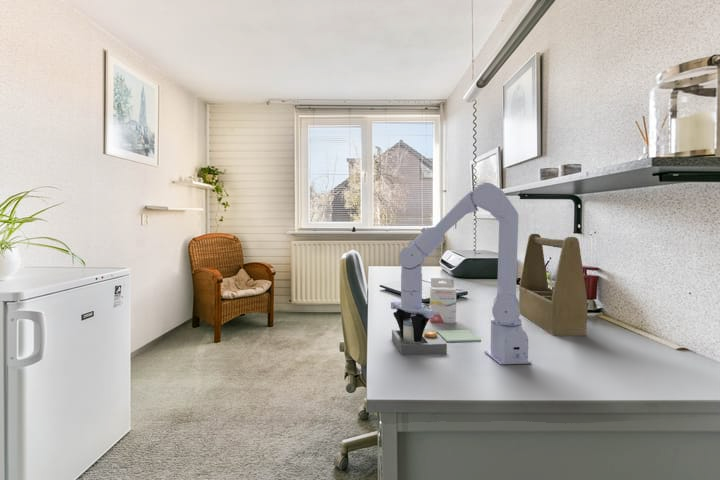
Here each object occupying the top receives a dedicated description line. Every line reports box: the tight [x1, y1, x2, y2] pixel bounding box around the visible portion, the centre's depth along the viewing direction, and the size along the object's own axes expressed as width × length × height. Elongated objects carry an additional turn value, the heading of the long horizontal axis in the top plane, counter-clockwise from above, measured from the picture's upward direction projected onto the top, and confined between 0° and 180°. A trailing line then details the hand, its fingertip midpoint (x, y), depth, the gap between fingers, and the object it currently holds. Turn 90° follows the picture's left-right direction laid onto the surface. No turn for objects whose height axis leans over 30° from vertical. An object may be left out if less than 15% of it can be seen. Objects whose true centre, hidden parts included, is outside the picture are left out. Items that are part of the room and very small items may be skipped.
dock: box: [391, 328, 448, 356], centre depth 106 cm, size 14×12×2 cm
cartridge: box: [402, 318, 420, 344], centre depth 106 cm, size 4×4×7 cm
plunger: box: [424, 331, 438, 338], centre depth 106 cm, size 4×4×3 cm
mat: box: [436, 329, 482, 343], centre depth 114 cm, size 10×10×1 cm
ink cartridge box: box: [429, 277, 457, 324], centre depth 132 cm, size 9×5×15 cm, turn 84°
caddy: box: [518, 233, 589, 337], centre depth 129 cm, size 29×11×30 cm, turn 176°
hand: (411, 338), depth 106 cm, fingers closed on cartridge, 4 cm apart
